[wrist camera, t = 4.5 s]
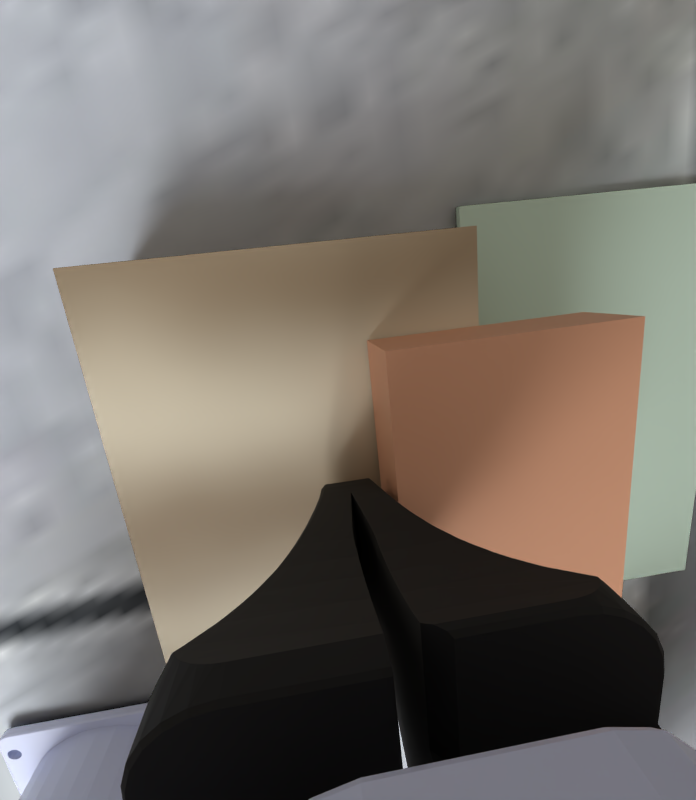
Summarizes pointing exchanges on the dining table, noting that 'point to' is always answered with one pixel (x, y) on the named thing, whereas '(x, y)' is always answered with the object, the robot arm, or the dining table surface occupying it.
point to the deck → (246, 394)
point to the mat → (614, 294)
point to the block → (516, 435)
